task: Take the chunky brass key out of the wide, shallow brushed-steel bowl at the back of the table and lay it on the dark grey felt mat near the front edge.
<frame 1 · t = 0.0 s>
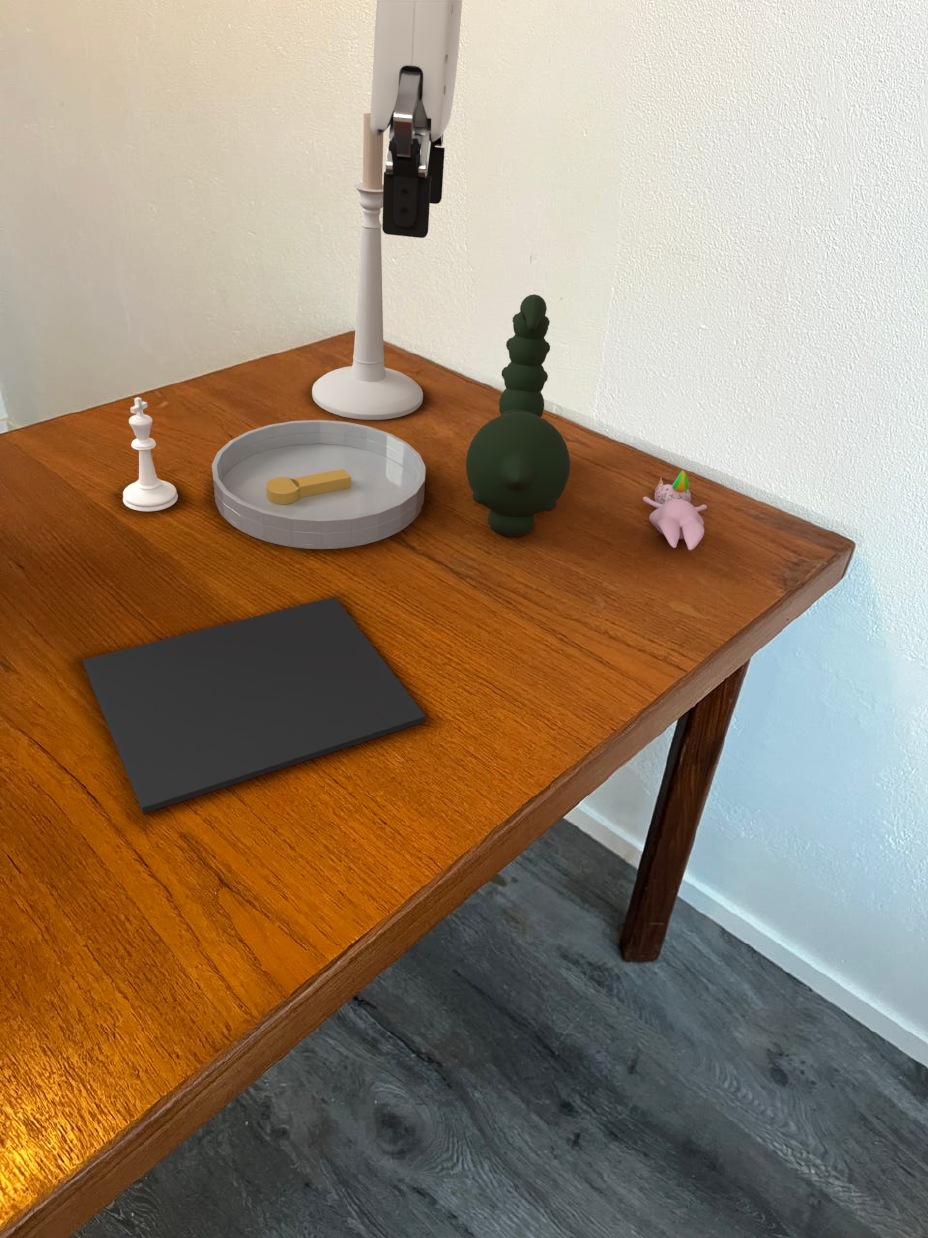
hand: (413, 217, 73), 28 cm above the table, tool pointing down, fingers open, 9 cm apart
candlestick: (367, 397, 113), on the table
toy figurine: (512, 500, 97), on the table
brass key: (306, 491, 93), resting on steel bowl
felt mat: (252, 693, 70), on the table
chess piece: (150, 500, 91), on the table
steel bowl: (320, 493, 94), on the table
pink stuffed animal: (671, 533, 94), on the table
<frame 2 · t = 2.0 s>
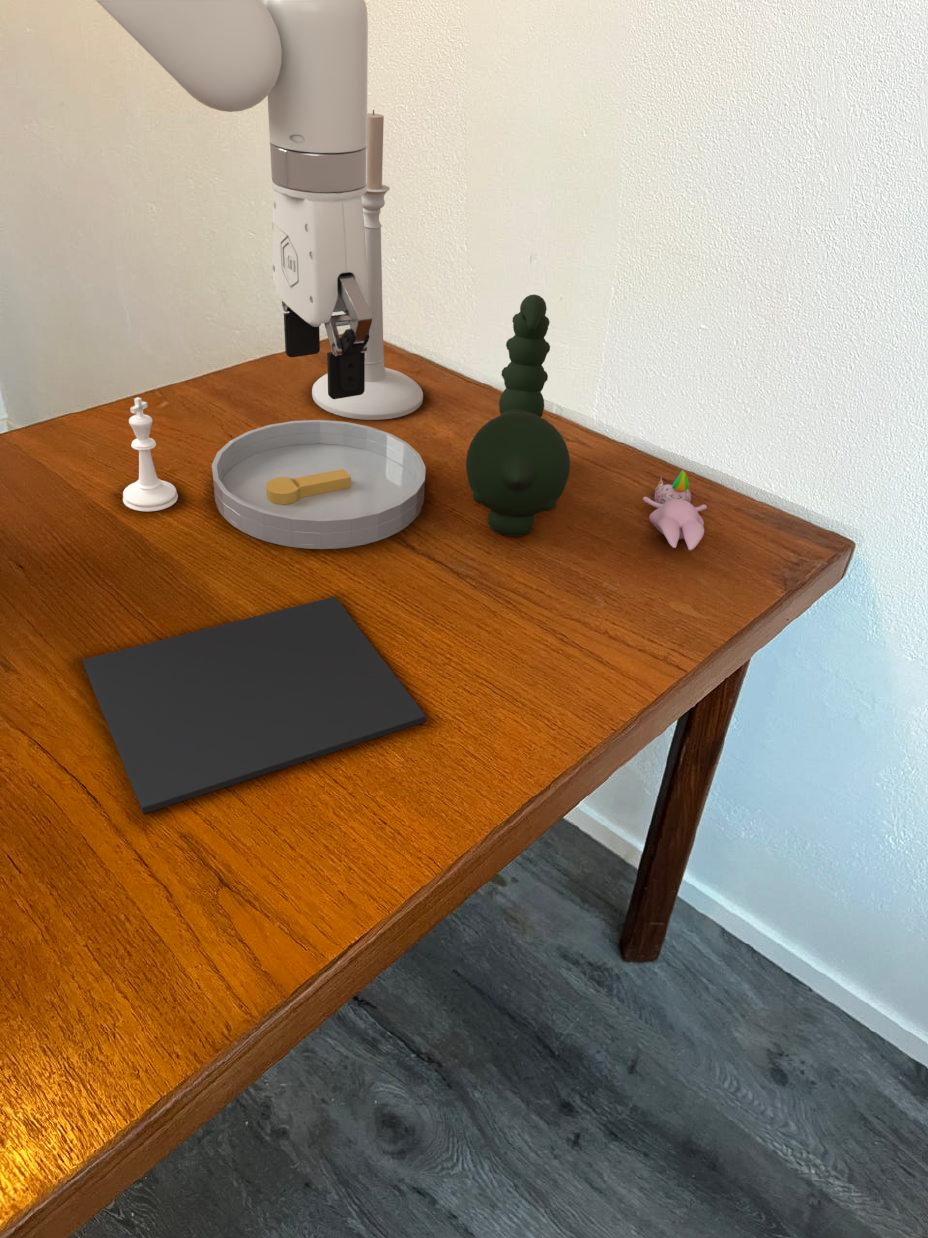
hand: (323, 374, 87), 12 cm above the table, tool pointing down, fingers open, 9 cm apart
nothing on the table moved.
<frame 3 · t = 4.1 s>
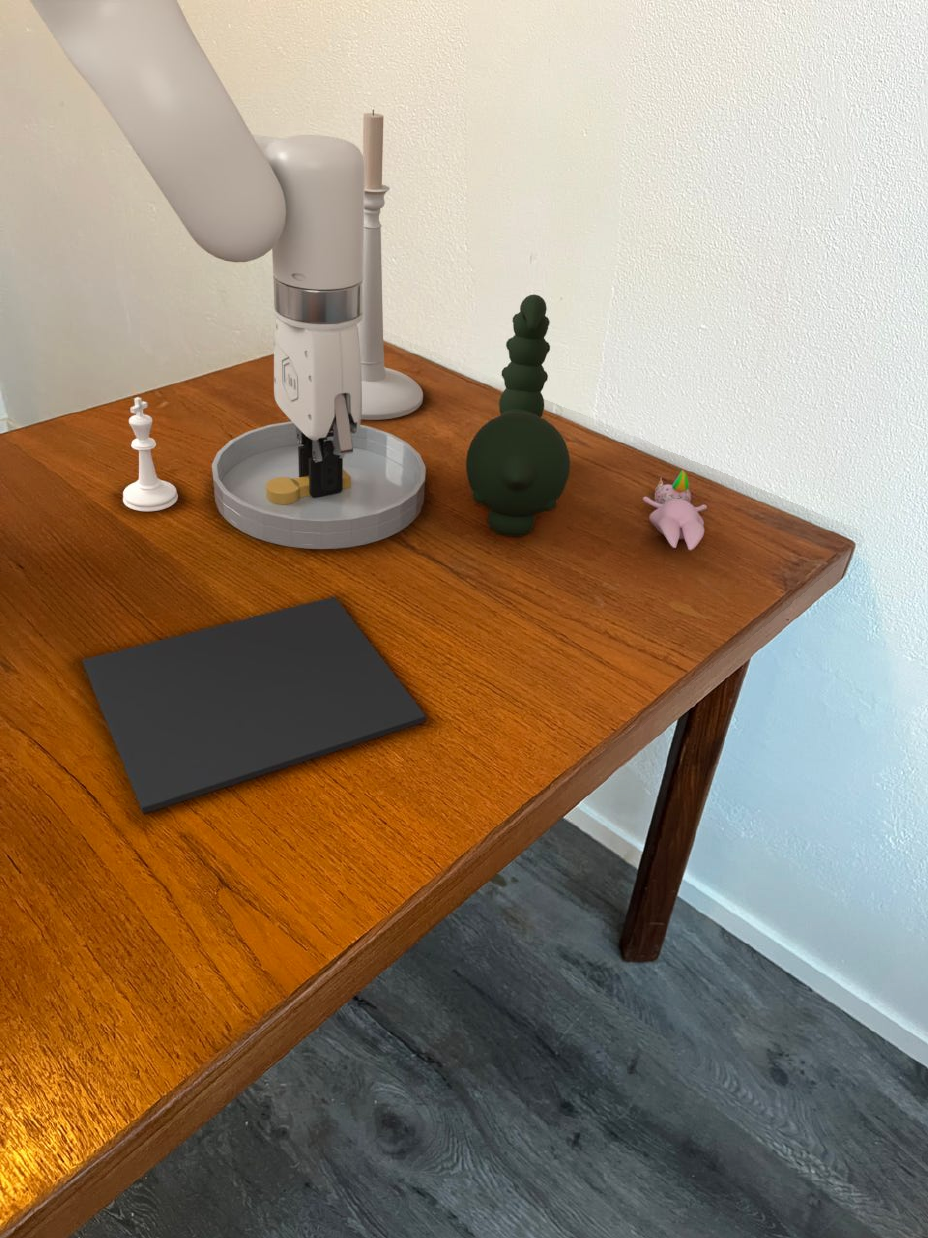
hand: (320, 486, 94), 1 cm above the table, tool pointing down, fingers closed on brass key, 1 cm apart
brass key: (306, 491, 93), point 1 cm above the table, touching gripper, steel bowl
everything else where it was.
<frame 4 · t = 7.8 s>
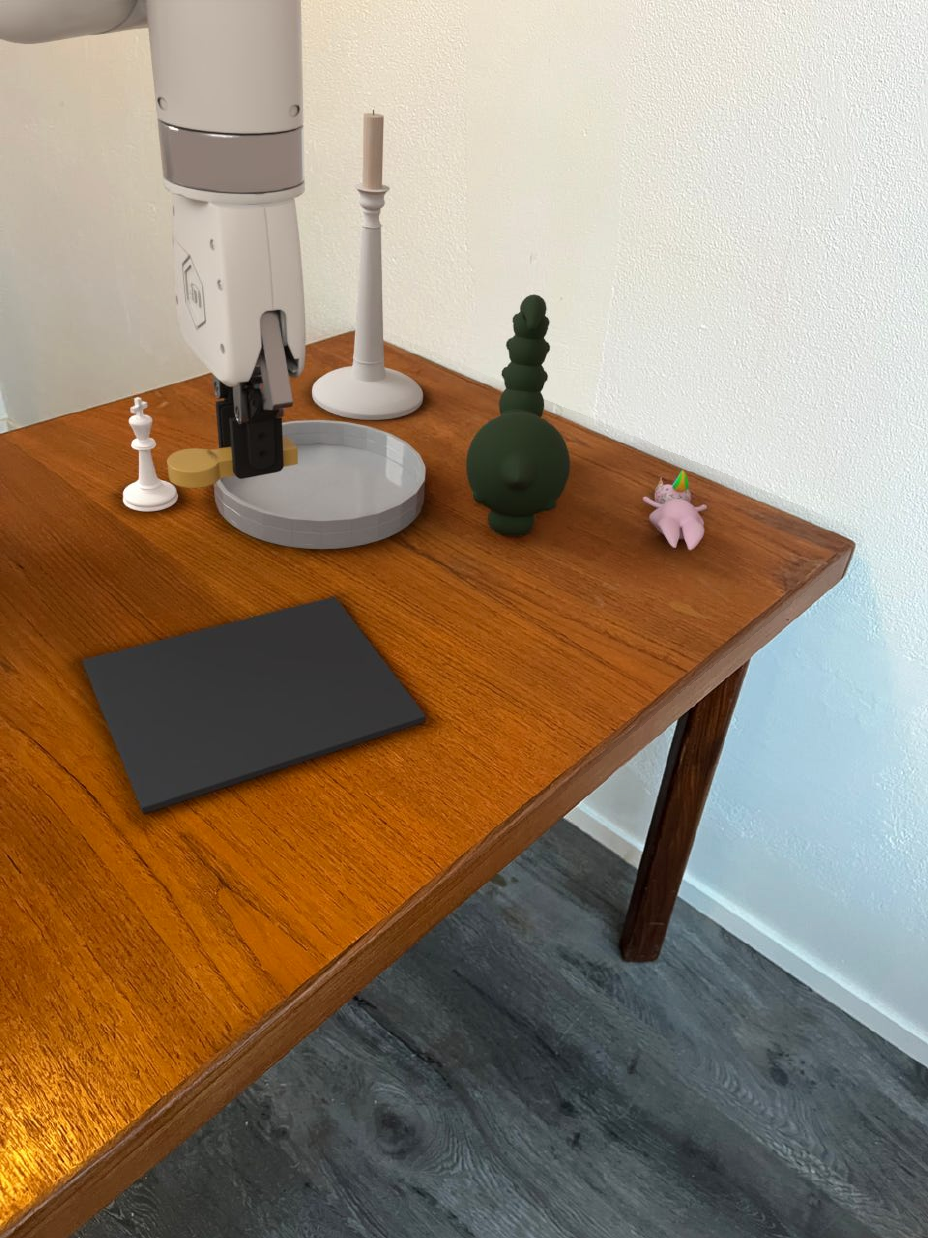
hand: (251, 462, 63), 17 cm above the table, tool pointing down, fingers closed on brass key
brass key: (230, 469, 63), point 17 cm above the table, touching gripper
everything else where it was.
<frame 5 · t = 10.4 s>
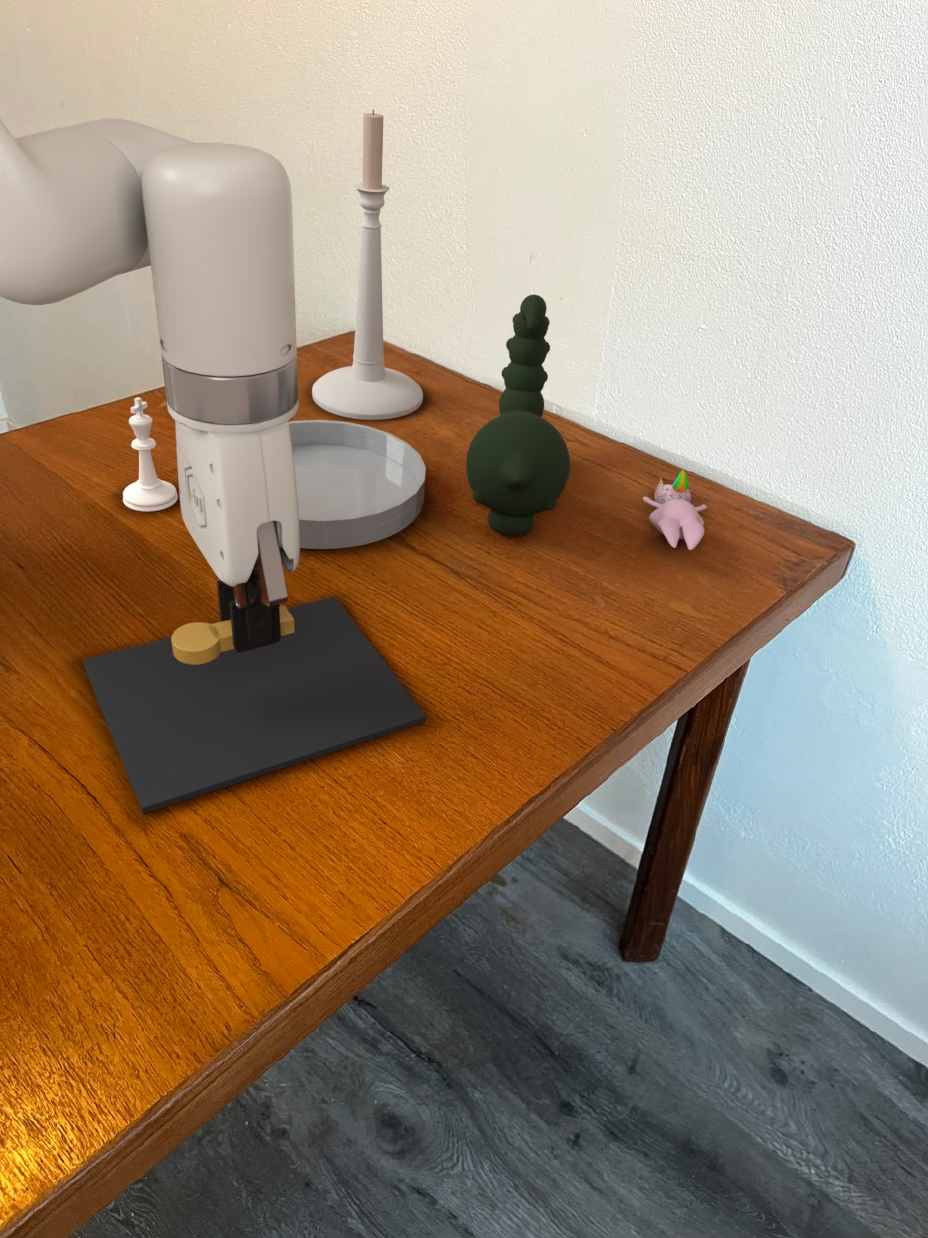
hand: (250, 633, 67), 6 cm above the table, tool pointing down, fingers closed on brass key
brass key: (230, 641, 67), point 5 cm above the table, touching gripper
everything else where it was.
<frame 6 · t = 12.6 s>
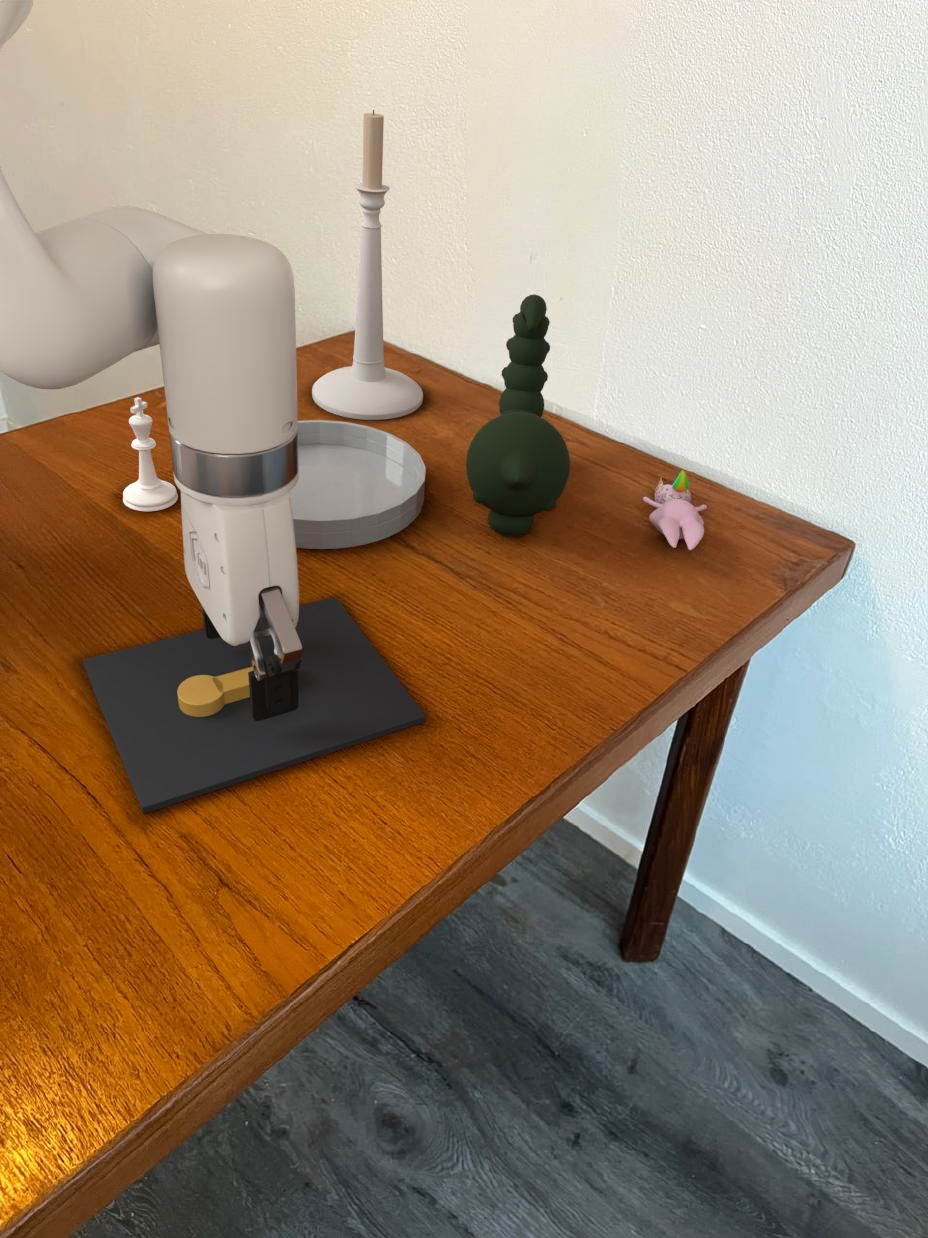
hand: (250, 671, 69), 2 cm above the table, tool pointing down, fingers open, 9 cm apart
brass key: (234, 693, 69), point 1 cm above the table, touching felt mat
everything else where it was.
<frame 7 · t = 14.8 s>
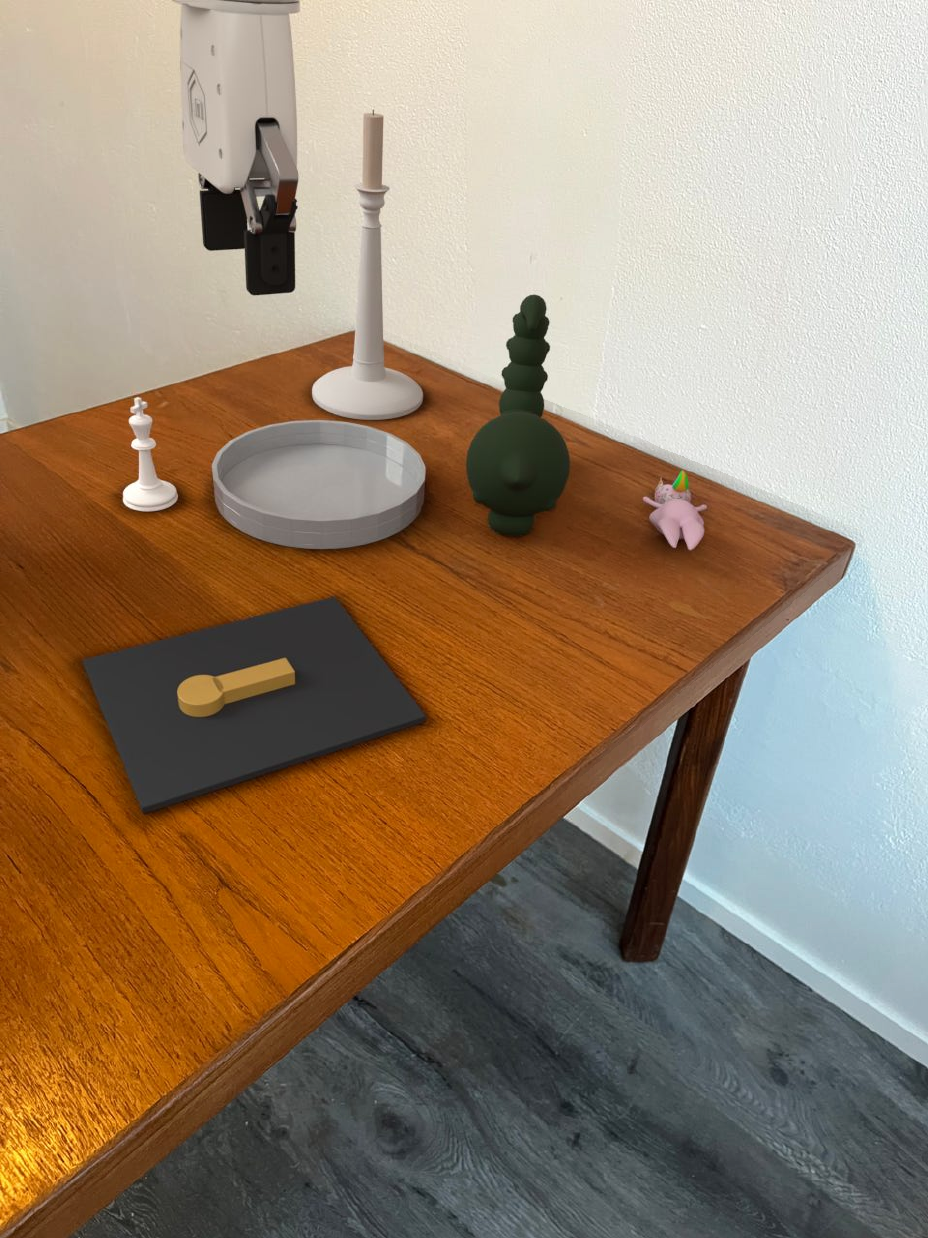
hand: (247, 269, 68), 25 cm above the table, tool pointing down, fingers open, 9 cm apart
nothing on the table moved.
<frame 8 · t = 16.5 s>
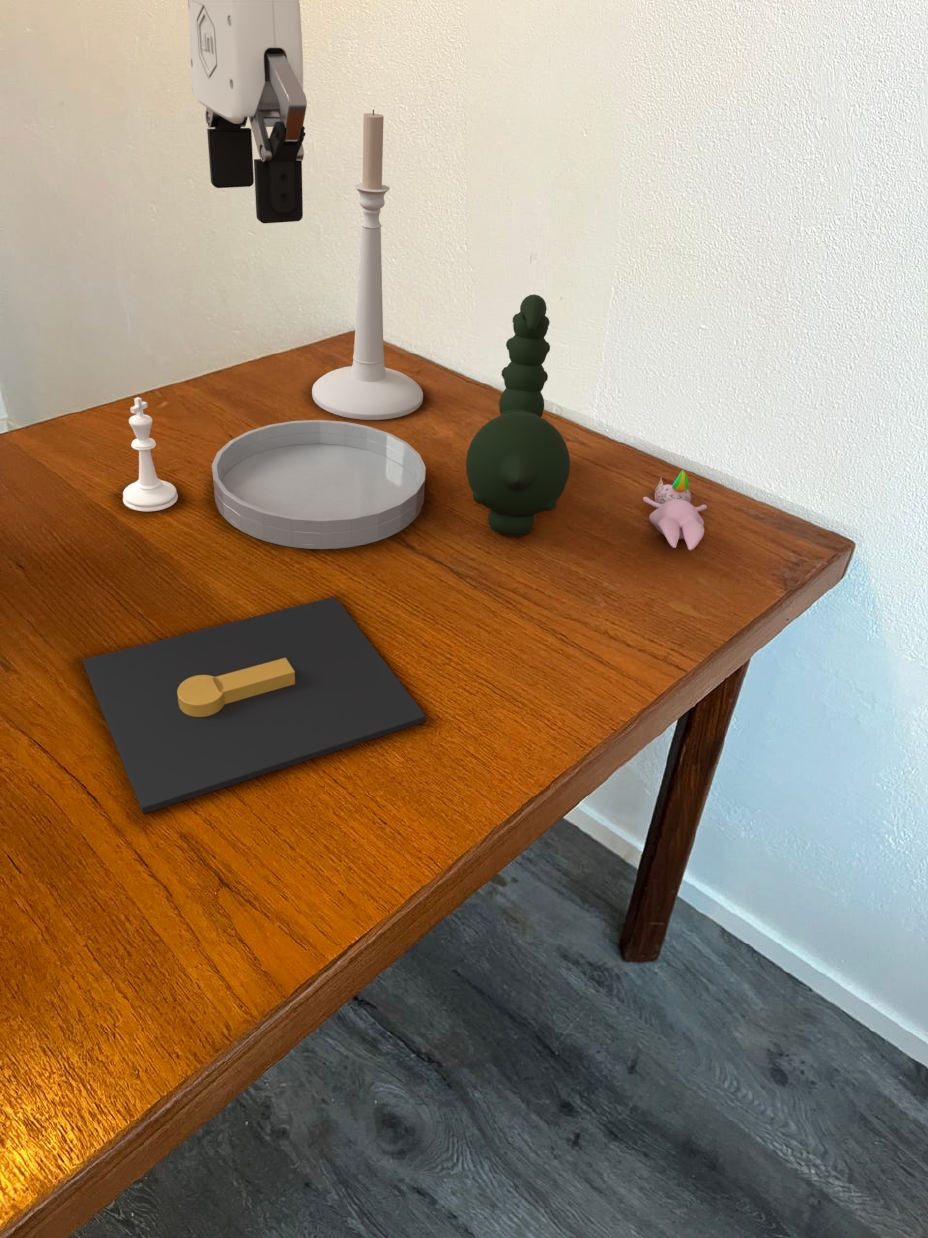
hand: (255, 202, 71), 28 cm above the table, tool pointing down, fingers open, 9 cm apart
nothing on the table moved.
at the end: brass key inside the target area on the felt mat (1.4 cm from its centre), point 0.6 cm above the felt mat's base; brass key touching felt mat; the gripper is holding nothing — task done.
